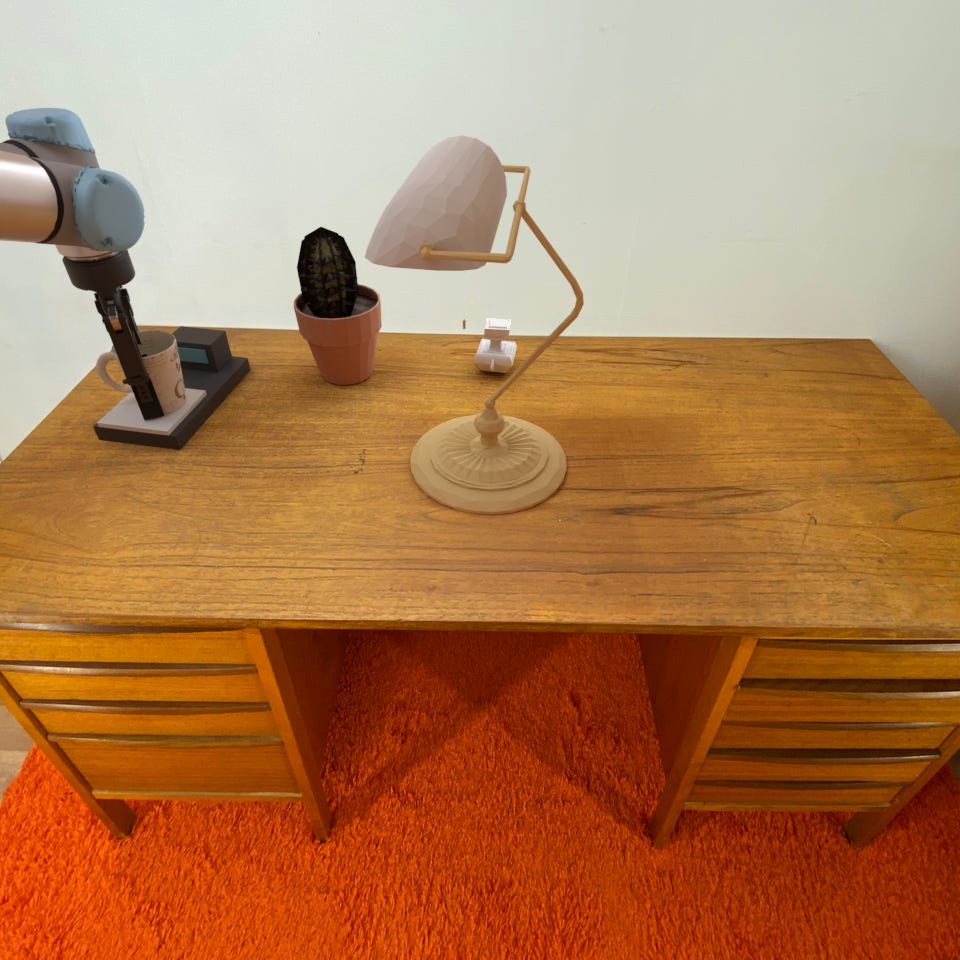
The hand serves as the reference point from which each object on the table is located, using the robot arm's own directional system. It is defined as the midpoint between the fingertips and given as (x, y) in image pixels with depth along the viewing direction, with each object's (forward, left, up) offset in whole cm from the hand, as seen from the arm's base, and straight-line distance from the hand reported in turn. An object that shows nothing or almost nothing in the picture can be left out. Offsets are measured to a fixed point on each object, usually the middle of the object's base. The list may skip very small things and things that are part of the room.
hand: (152, 404), depth 95 cm
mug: (0, +1, 0) cm, 1 cm away
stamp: (+54, -6, -4) cm, 55 cm away
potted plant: (+30, +3, -4) cm, 31 cm away
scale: (+4, +5, -4) cm, 7 cm away
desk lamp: (+41, -29, -4) cm, 51 cm away
